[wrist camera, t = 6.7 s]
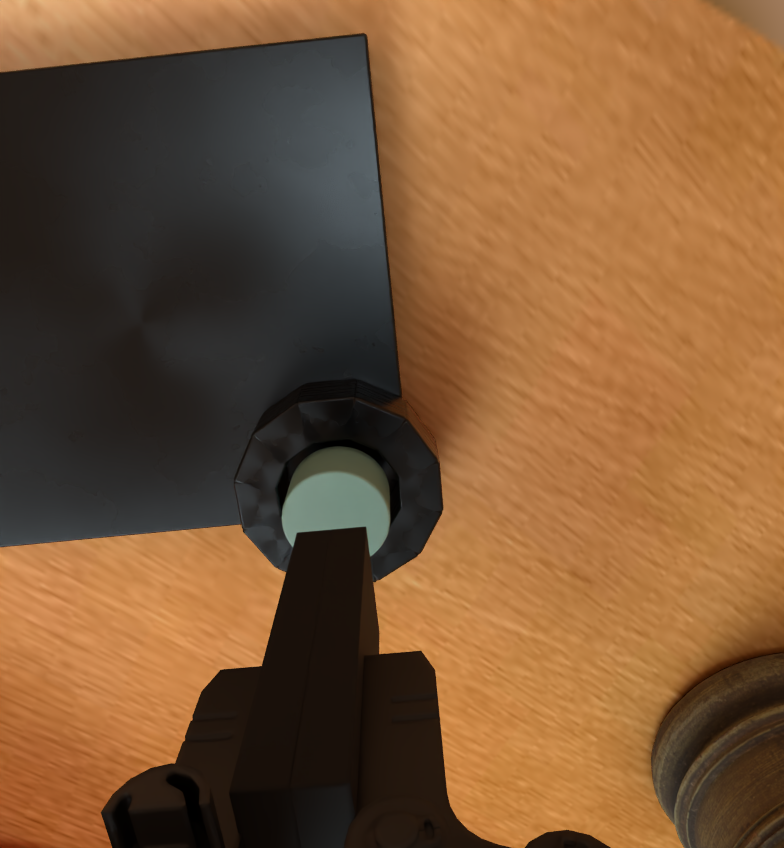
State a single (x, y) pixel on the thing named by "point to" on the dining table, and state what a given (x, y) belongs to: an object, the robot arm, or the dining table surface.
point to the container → (726, 759)
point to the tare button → (338, 495)
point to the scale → (197, 296)
